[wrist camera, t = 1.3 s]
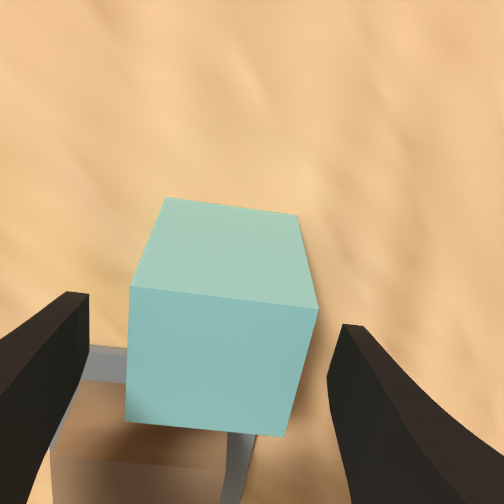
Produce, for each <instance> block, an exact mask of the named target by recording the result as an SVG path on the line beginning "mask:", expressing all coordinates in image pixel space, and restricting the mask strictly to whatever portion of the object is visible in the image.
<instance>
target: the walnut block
mask: <svg viewBox="0 0 504 504" xmlns="http://www.w3.org/2000/svg"><path fill="white" fill-rule="evenodd" d="M125 398H126V384H122V383H113V382H103V381H94V380H84V379H82V381H81V384H80V386H79V388H78V391H77V393H76V395H75V398H74V400H73V402H72V405H71V407H70V409H69V412H68V414H67V416H66V419H65V421H64V423H63V426H62V428H61V431H60V433H59V435H58V438H57V440H56V442H55V445H54V447H53V449H52V452H51V454H50V465H51V479H52V493H53V504H219V503H220V498H221V493H222V488H223V483H224V478H225V473H226V452H227V432H226V431H216V430H206V429H196V428H186V427H176V426H166V425H156V424H146V423H135V422H125Z"/></svg>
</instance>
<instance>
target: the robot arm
mask: <svg viewBox="0 0 504 504" xmlns="http://www.w3.org/2000/svg"><path fill="white" fill-rule="evenodd" d="M89 352H90V345H89V294H85V293H77V292H68V291H66V292H65V293H63V294H62V295H61V296H59V297H58V298H57V299H55V300H54V301H53V302H51V303H50V304H49V305H47V306H46V307H45V308H43V309H42V310H41V311H39V312H38V313H37V314H35V315H34V316H33V317H31V318H30V319H29V320H27V321H26V322H24V323H23V324H22V325H20V326H19V327H17V328H16V329H15V330H13V331H12V332H10V333H9V334H8V335H6V336H4V337H3V338H1V339H0V504H26V503H27V500H28V497H29V495H30V492H31V489H32V486H33V484H34V481H35V478H36V475H37V473H38V470H39V468H40V465H41V463H42V461H43V458H44V456H45V454H46V452H47V450H48V448H49V446H50V444H51V441H52V439H53V437H54V435H55V433H56V431H57V429H58V427H59V425H60V423H61V421H62V419H63V417H64V415H65V412H66V410H67V408H68V406H69V404H70V402H71V400H72V398H73V396H74V393H75V391H76V389H77V387H78V385H79V382H80V379H81V376H82V374H83V371H84V368H85V364H86V361H87V358H88V355H89ZM327 388H328V398H329V406H330V412H331V416H332V420H333V424H334V429H335V433H336V437H337V441H338V445H339V449H340V453H341V457H342V461H343V465H344V469H345V473H346V477H347V481H348V486H349V491H350V496H351V502H352V504H504V456H503V455H502V454H500V453H499V452H497V451H496V450H495V449H493V448H492V447H490V446H489V445H488V444H486V443H485V442H483V441H482V440H481V439H479V438H478V437H477V436H475V435H474V434H473V433H471V432H470V431H469V430H468V429H466V428H465V427H464V426H463V425H461V424H460V423H459V422H458V421H457V420H455V419H454V418H453V417H452V416H451V415H449V414H448V413H447V412H446V411H445V410H443V409H442V408H441V407H440V406H439V405H438V404H437V403H436V402H435V401H434V400H432V399H431V398H430V397H429V396H428V395H427V394H426V393H425V392H424V391H423V390H422V389H421V388H420V387H419V386H418V385H417V384H416V383H415V382H414V381H413V380H412V379H411V378H410V377H409V376H408V375H407V374H406V373H405V372H404V370H403V369H402V368H401V367H400V366H399V365H398V364H397V363H396V362H395V361H394V360H393V359H392V357H391V356H390V355H389V354H388V353H387V352H386V351H385V350H384V348H383V347H382V346H381V345H380V344H379V343H378V342H377V341H376V339H375V338H374V337H373V336H372V335H371V334H370V333H369V332H368V331H367V329H366V328H365V327H364V326H358V325H350V324H343V325H342V328H341V331H340V334H339V338H338V341H337V344H336V347H335V351H334V354H333V357H332V360H331V364H330V367H329V370H328V373H327Z"/></svg>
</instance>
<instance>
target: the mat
mask: <svg viewBox="0 0 504 504" xmlns="http://www.w3.org/2000/svg"><path fill="white" fill-rule="evenodd" d="M126 373H127V349H123V348H114V347H105V346H96V345H90V352H89V355H88V358H87V361H86V364H85V368H84V371H83V374H82V376H81V379H80V382H79V385H78V387H77V389H76V391H75V393H74V396H73V398H72V400H71V402H70V404H69V406H68V408H67V410H66V412H65V415H64V417H63V419H62V421H61V423H60V425H59V427H58V429H57V431H56V433H55V435H54V437H53V439H52V441H51V444H50V454H51V452H52V449H53V447H54V445H55V442H56V440H57V438H58V435H59V433H60V431H61V428H62V426H63V423H64V421H65V419H66V416H67V414H68V412H69V409H70V407H71V405H72V402H73V400H74V398H75V395H76V393H77V391H78V388H79V386H80V384H81V381H82V379H84V380H94V381H103V382H113V383H122V384H126ZM255 436H256V434H246V433H236V432H227V452H226V473H225V478H224V483H223V488H222V493H221V498H220V503H219V504H240V500H241V496H242V492H243V488H244V483H245V479H246V475H247V470H248V466H249V462H250V457H251V453H252V449H253V445H254V440H255Z"/></svg>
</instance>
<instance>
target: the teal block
mask: <svg viewBox="0 0 504 504" xmlns="http://www.w3.org/2000/svg"><path fill="white" fill-rule="evenodd" d="M318 311H319V307H318V303H317V299H316V294H315V290H314V286H313V282H312V277H311V273H310V269H309V265H308V261H307V256H306V252H305V248H304V244H303V240H302V235H301V231H300V227H299V223H298V218H297V215H291V214H284V213H277V212H269V211H262V210H255V209H248V208H241V207H234V206H227V205H220V204H212V203H205V202H198V201H191V200H184V199H177V198H170V197H166V198H165V201H164V203H163V206H162V208H161V210H160V213H159V215H158V218H157V220H156V223H155V225H154V228H153V230H152V233H151V235H150V238H149V240H148V243H147V245H146V247H145V250H144V252H143V255H142V257H141V260H140V262H139V265H138V267H137V270H136V272H135V275H134V277H133V280H132V282H131V284H130V298H129V323H128V348H127V373H126V398H125V422H135V423H146V424H156V425H166V426H176V427H186V428H196V429H206V430H216V431H226V432H236V433H246V434H256V435H266V436H276V437H284V435H285V431H286V428H287V424H288V421H289V417H290V413H291V410H292V406H293V402H294V399H295V395H296V391H297V388H298V384H299V380H300V377H301V373H302V369H303V366H304V362H305V359H306V355H307V351H308V348H309V344H310V340H311V337H312V333H313V329H314V326H315V322H316V318H317V315H318Z"/></svg>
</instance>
